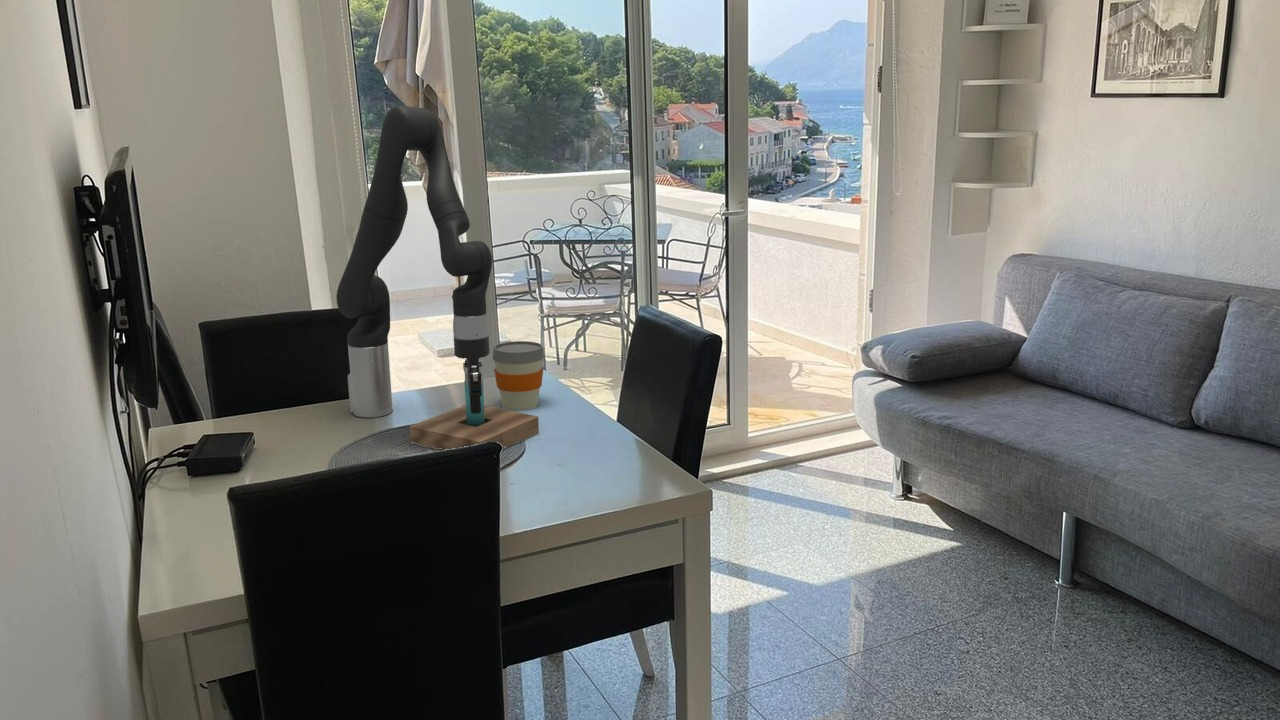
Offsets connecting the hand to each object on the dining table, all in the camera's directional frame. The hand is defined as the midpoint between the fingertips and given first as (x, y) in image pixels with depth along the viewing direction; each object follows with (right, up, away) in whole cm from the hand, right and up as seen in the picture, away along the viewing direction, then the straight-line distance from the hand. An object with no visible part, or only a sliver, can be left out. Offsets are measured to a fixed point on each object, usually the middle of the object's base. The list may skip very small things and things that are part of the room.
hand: (475, 409), depth 204 cm
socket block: (0, -7, +2) cm, 7 cm away
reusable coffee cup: (+7, -1, +26) cm, 27 cm away
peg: (0, -3, +1) cm, 3 cm away
